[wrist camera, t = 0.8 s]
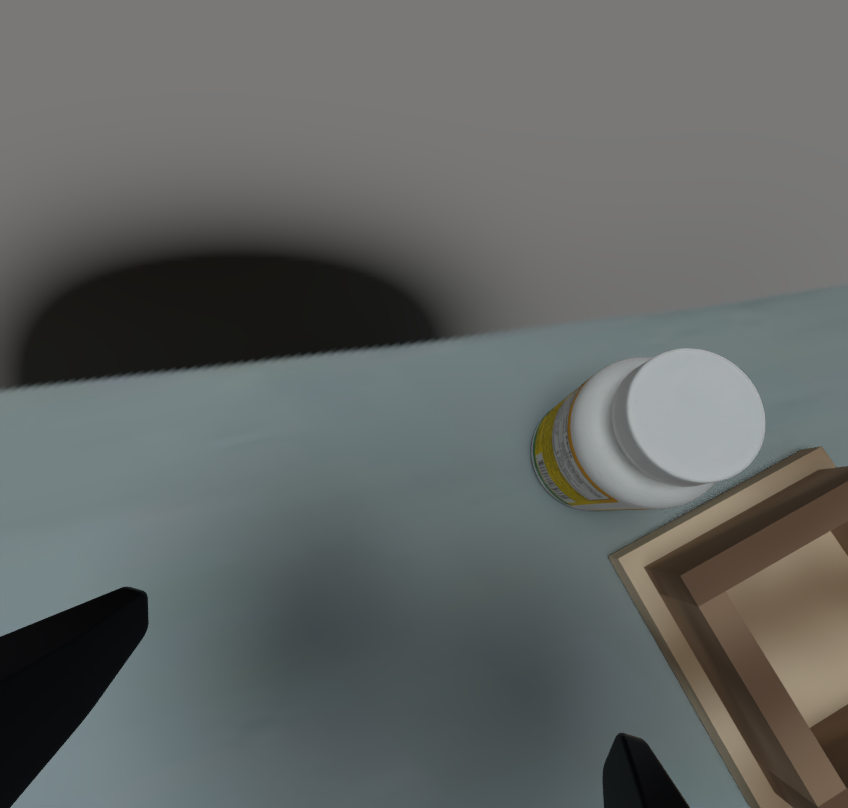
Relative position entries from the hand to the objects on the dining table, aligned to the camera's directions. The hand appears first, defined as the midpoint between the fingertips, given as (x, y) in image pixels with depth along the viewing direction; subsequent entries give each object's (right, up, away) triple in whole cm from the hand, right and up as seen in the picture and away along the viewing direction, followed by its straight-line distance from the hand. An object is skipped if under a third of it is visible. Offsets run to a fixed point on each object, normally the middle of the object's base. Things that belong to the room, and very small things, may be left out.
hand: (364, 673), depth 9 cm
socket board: (+17, -4, +12) cm, 21 cm away
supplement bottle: (+9, +2, +14) cm, 17 cm away
